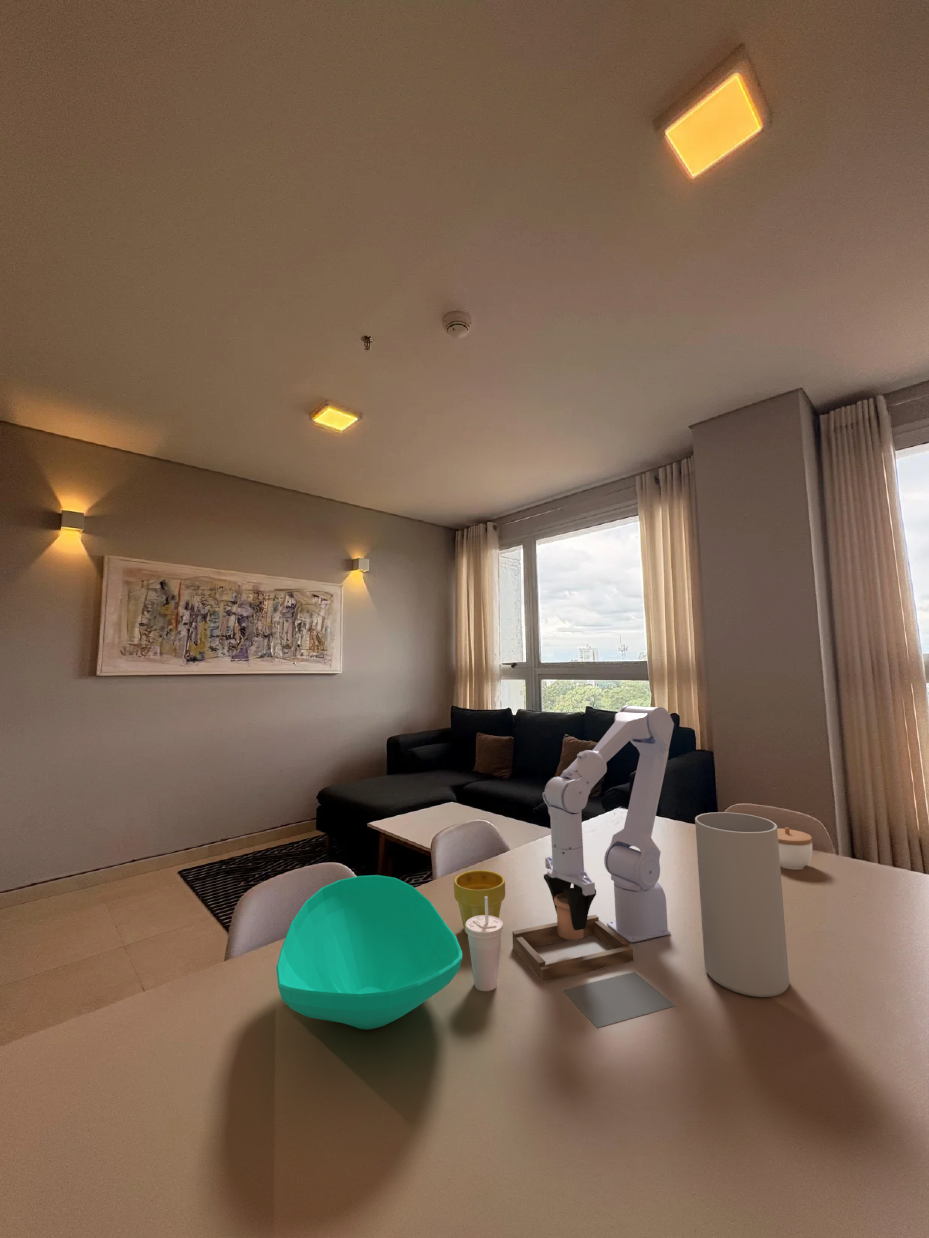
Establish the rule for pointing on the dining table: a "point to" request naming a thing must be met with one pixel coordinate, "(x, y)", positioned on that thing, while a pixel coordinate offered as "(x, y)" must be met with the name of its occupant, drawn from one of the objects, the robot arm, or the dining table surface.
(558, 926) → the terracotta pot
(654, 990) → the potting mat
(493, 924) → the smoothie
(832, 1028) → the dining table surface
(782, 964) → the cylinder vase
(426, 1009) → the dining table surface
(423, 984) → the table top decor
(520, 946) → the cold frame
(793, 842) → the lidded jar
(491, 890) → the plant pot
